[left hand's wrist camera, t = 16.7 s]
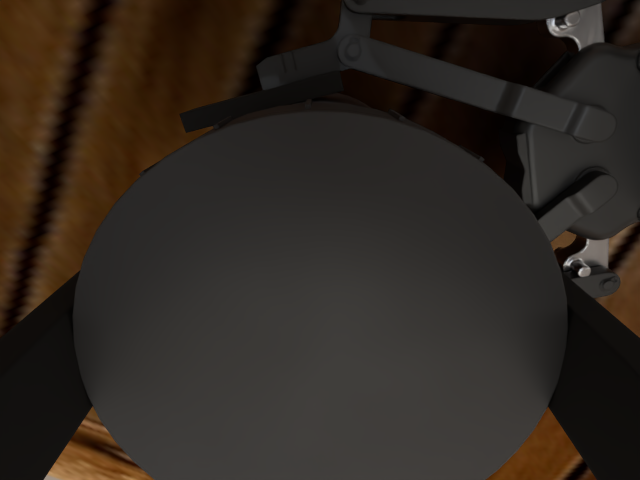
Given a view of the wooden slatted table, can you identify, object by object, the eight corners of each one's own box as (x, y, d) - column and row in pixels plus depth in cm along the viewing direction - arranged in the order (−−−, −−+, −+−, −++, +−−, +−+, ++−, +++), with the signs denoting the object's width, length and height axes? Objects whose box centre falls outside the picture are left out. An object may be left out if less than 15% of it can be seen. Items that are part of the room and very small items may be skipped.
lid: (257, -13, 9) (240, -34, 7) (622, 271, 12) (681, 312, 10) (41, 356, 13) (-8, 408, 11) (361, 521, 15) (367, 588, 13)
